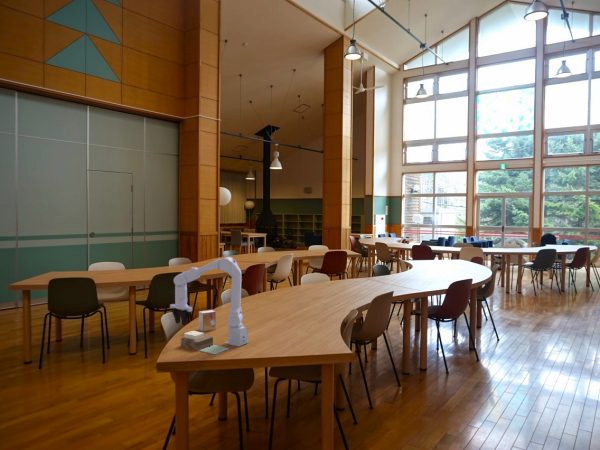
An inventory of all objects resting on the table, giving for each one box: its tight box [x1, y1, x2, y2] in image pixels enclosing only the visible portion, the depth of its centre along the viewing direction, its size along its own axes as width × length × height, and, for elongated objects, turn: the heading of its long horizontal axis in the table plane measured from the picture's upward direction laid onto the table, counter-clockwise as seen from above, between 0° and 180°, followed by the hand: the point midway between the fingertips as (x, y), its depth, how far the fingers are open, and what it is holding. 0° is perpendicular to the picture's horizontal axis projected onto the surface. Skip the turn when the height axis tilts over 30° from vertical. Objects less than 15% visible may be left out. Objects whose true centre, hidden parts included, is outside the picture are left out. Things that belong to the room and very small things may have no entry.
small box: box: [198, 309, 217, 333], centre depth 241 cm, size 8×6×10 cm
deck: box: [180, 334, 214, 351], centre depth 212 cm, size 12×10×4 cm
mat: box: [199, 344, 230, 355], centre depth 206 cm, size 10×10×1 cm
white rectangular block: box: [183, 330, 205, 340], centre depth 213 cm, size 8×6×2 cm
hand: (181, 323), depth 218 cm, fingers open, 4 cm apart
